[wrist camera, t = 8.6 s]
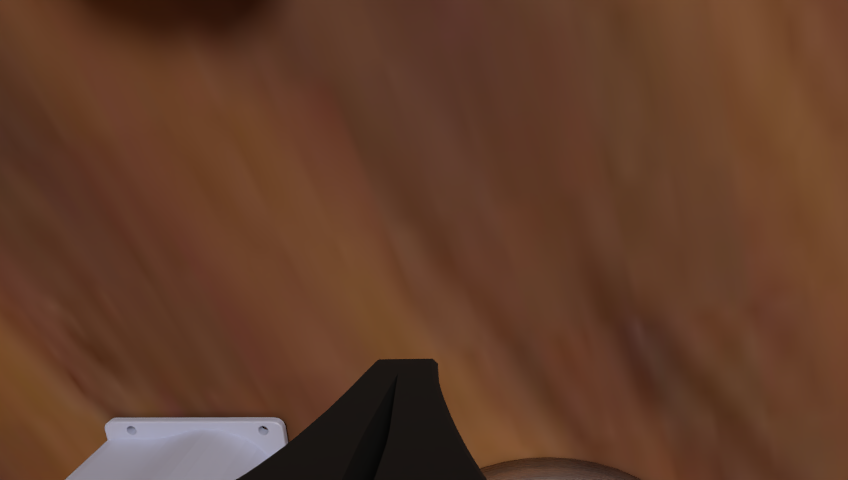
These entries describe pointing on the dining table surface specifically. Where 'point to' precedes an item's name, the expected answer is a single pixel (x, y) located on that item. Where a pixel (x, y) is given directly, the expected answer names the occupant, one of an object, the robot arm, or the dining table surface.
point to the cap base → (553, 470)
